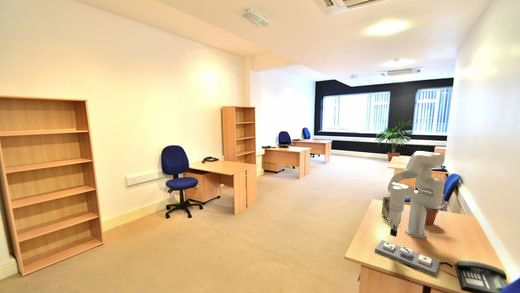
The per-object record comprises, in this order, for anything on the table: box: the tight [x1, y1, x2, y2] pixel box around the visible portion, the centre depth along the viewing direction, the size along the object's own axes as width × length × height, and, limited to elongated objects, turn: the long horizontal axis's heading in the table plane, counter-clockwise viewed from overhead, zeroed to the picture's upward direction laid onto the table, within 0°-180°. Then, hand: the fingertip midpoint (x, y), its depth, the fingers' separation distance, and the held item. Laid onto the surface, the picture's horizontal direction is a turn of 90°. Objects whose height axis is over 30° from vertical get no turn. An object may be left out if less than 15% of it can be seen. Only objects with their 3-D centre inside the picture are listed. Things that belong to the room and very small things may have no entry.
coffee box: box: [381, 196, 390, 219], centre depth 185 cm, size 9×6×16 cm
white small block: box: [400, 245, 414, 257], centre depth 132 cm, size 6×6×4 cm
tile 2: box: [383, 241, 397, 251], centre depth 138 cm, size 6×6×4 cm
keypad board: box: [374, 239, 441, 277], centre depth 132 cm, size 14×30×2 cm, turn 45°
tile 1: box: [418, 254, 432, 266], centre depth 126 cm, size 6×6×4 cm
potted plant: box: [417, 188, 440, 226], centre depth 176 cm, size 16×15×35 cm
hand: (393, 235), depth 136 cm, fingers closed
